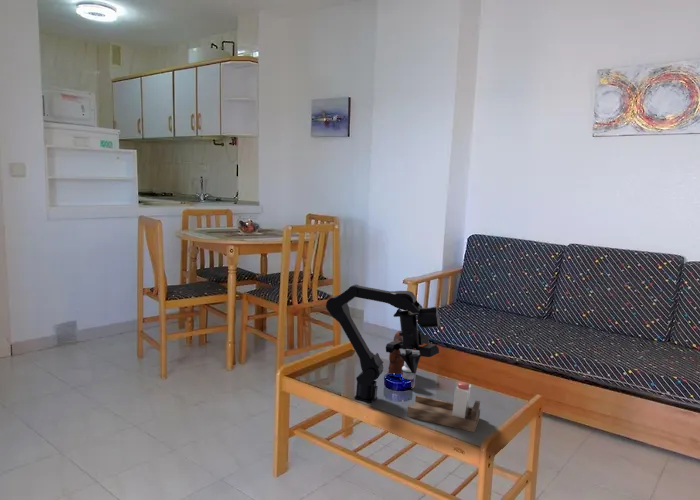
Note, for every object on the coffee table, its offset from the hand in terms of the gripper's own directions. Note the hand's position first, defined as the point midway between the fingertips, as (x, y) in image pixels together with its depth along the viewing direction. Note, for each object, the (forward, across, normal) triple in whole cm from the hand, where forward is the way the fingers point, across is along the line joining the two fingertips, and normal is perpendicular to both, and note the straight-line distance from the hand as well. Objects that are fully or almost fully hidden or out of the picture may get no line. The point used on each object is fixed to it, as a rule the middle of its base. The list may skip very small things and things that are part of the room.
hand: (414, 373), depth 175 cm
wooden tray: (+14, -10, 0) cm, 17 cm away
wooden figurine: (+10, +25, -22) cm, 34 cm away
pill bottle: (+11, +14, -14) cm, 23 cm away
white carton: (+14, -15, -2) cm, 20 cm away
